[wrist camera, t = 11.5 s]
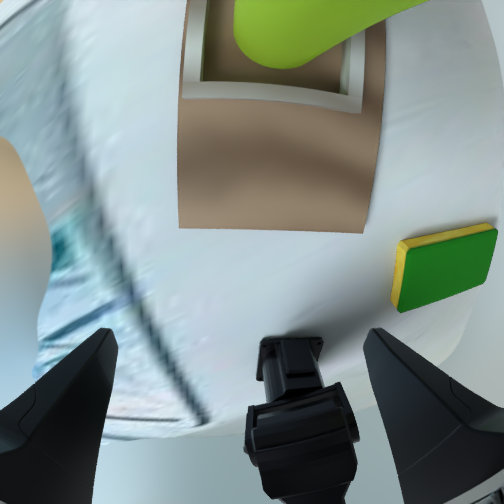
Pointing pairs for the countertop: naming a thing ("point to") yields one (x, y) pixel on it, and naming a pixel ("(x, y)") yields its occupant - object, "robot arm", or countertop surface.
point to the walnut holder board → (276, 131)
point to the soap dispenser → (304, 26)
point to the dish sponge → (441, 265)
